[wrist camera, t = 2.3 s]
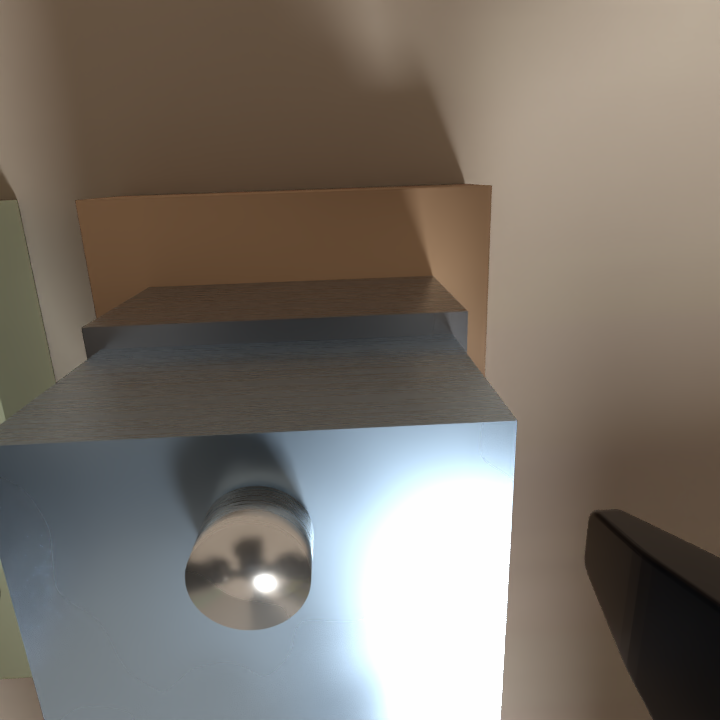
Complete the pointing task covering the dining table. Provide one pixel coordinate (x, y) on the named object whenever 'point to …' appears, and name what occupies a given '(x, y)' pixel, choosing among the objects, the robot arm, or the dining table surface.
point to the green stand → (17, 384)
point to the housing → (264, 510)
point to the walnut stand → (293, 241)
